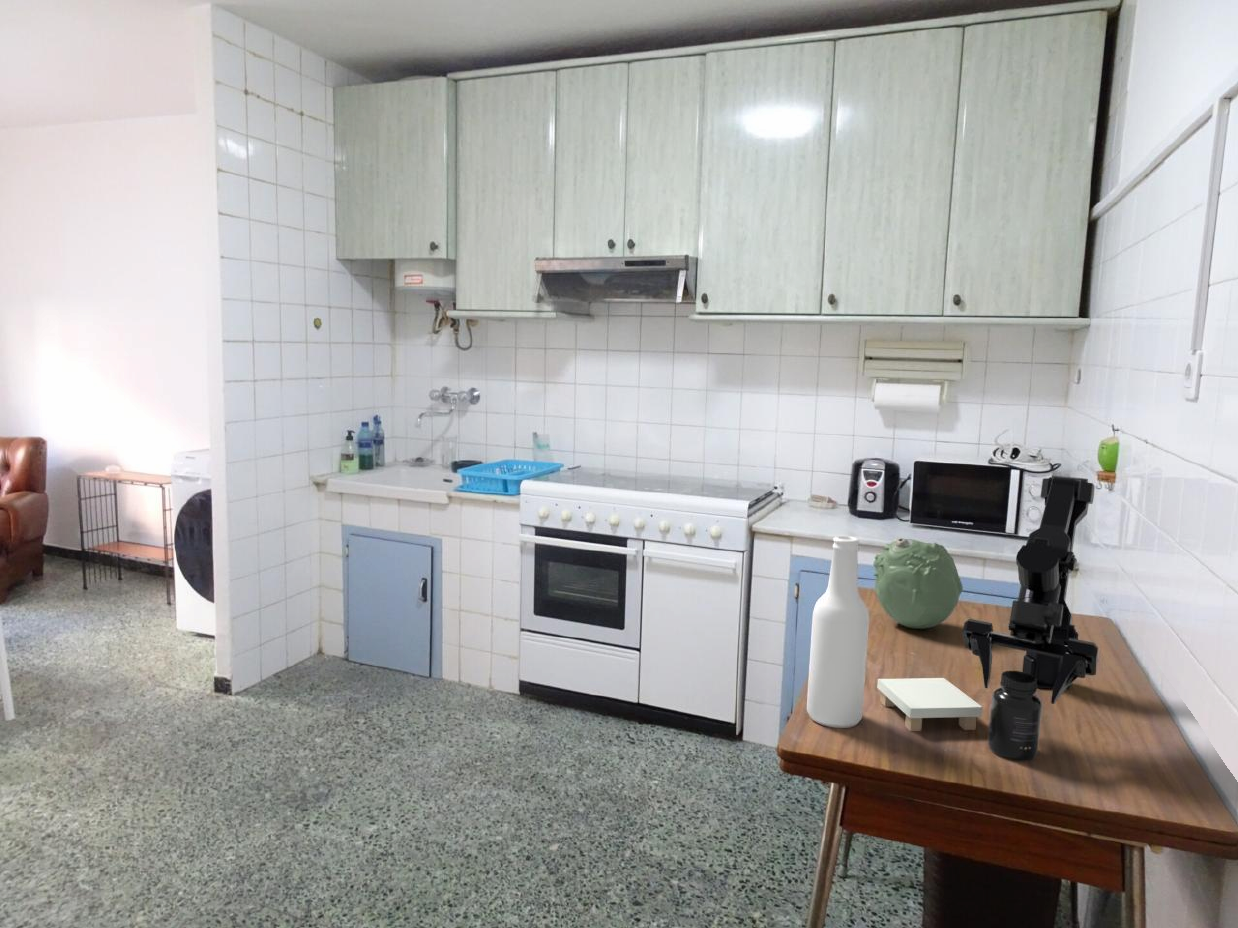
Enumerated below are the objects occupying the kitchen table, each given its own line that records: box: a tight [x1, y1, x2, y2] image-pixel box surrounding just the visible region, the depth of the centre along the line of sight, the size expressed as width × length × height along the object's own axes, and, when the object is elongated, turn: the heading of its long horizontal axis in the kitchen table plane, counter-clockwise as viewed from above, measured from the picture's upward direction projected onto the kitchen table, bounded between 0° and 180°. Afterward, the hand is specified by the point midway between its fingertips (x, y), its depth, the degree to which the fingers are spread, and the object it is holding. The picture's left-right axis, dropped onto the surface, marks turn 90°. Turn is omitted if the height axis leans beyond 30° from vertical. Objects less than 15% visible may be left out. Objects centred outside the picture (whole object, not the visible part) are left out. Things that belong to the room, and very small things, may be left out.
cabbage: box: [872, 538, 964, 630], centre depth 181 cm, size 16×19×20 cm
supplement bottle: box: [987, 670, 1043, 762], centre depth 123 cm, size 7×7×12 cm
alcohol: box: [806, 535, 870, 729], centre depth 132 cm, size 9×9×30 cm
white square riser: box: [876, 677, 983, 732], centre depth 136 cm, size 12×12×4 cm
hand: (1018, 694), depth 124 cm, fingers open, 9 cm apart
